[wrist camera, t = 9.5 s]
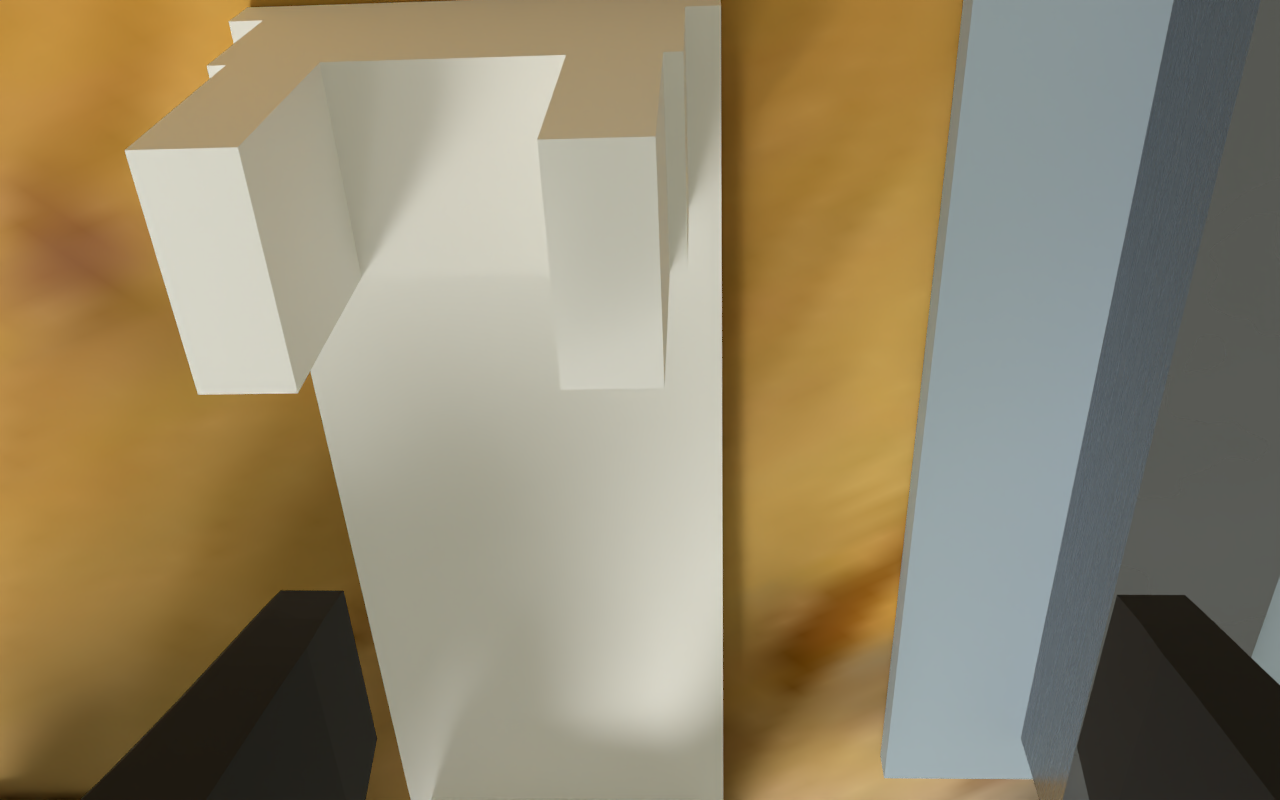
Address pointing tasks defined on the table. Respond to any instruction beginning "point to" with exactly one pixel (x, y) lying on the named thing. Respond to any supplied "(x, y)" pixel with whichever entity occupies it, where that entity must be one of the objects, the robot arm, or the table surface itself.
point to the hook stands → (486, 357)
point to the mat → (1014, 364)
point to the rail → (1179, 378)
